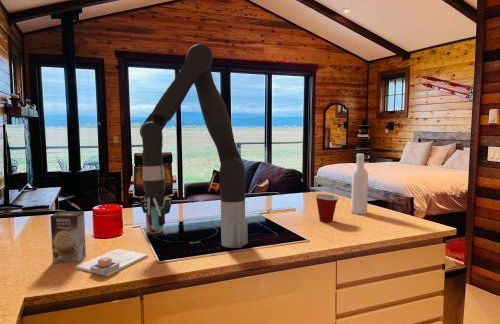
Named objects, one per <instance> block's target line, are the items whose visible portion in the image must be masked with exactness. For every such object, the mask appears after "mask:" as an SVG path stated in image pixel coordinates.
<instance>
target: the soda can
mask: <svg viewBox="0 0 500 324" xmlns="http://www.w3.org/2000/svg"><path fill="white" fill-rule="evenodd" d="M145 220H146V223H145V224H146V232H148V233H149V234H154V235H155V234H160V233H161V232H163V231H164V225H165V224H164V225H163V226H162V229H160V230H153V229H152V225H150V223H149V217H148V214H147V213H145Z"/></svg>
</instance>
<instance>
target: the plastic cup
mask: <svg viewBox="0 0 500 324" xmlns="http://www.w3.org/2000/svg"><path fill="white" fill-rule="evenodd" d="M314 196H315V200H316V205H317V206H316V207H317V212H318V217H319V218H318V219H319V222H322V223H333V220H334V215H335V212H336V207H337V202H338V200H339V196H336V195H332V194H326V193H317V194H315V195H314Z"/></svg>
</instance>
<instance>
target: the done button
mask: <svg viewBox="0 0 500 324" xmlns="http://www.w3.org/2000/svg"><path fill="white" fill-rule="evenodd" d="M110 266H112V259H111V258H108V257H107V258H101V259H99V260H98V267H99V268H103V269H104V268H107V267H110Z"/></svg>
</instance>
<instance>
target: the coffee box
mask: <svg viewBox="0 0 500 324" xmlns="http://www.w3.org/2000/svg"><path fill="white" fill-rule="evenodd" d="M49 218H50V233H51V250H52V253H51V254H52V262H53V263H79V262H81V261H82V260H83V259H84V258H85V257H86V256H87V250H86V249H87V247H86V229H85V227H86V226H85V224H86V223H85V212H84V211H58V212H56V213H54V214H52V215H50V217H49Z"/></svg>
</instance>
